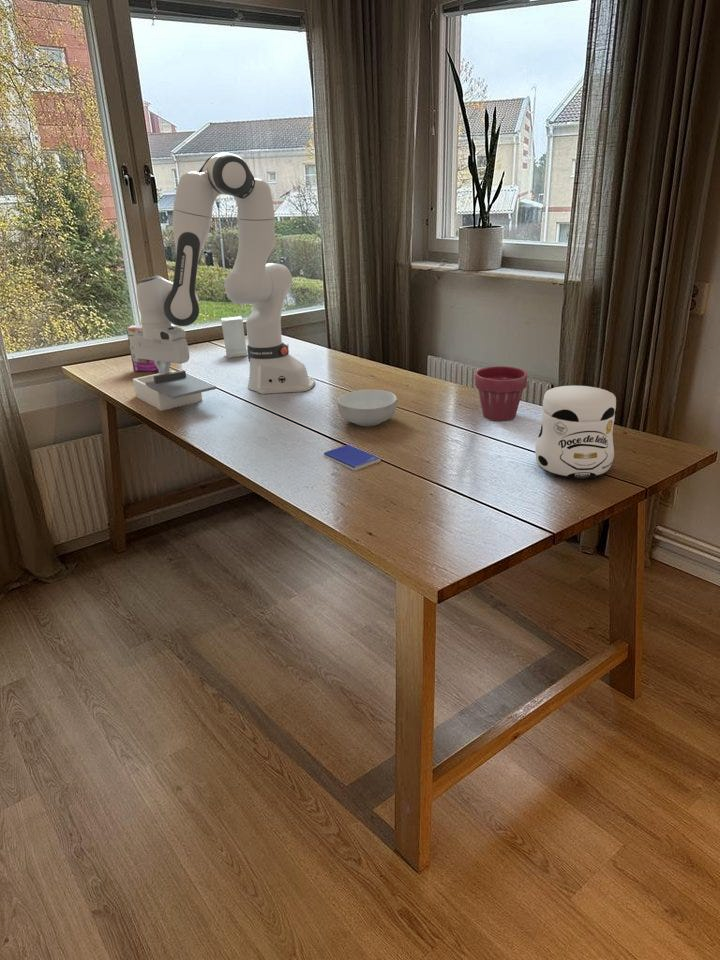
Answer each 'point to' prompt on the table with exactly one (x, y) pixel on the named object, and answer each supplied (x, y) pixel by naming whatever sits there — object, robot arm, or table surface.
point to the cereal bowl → (367, 406)
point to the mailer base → (160, 395)
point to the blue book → (351, 457)
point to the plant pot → (500, 391)
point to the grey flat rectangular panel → (179, 384)
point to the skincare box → (234, 336)
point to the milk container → (576, 432)
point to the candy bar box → (138, 364)
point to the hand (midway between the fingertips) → (164, 374)
